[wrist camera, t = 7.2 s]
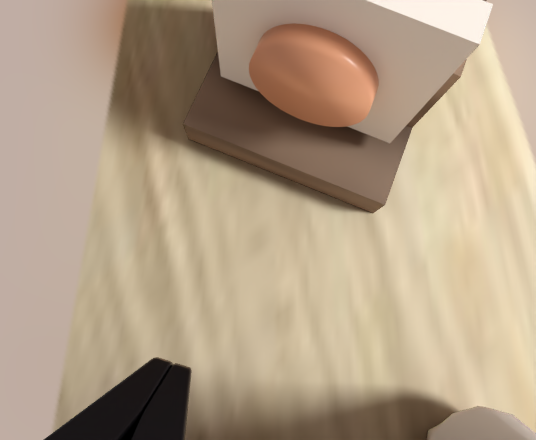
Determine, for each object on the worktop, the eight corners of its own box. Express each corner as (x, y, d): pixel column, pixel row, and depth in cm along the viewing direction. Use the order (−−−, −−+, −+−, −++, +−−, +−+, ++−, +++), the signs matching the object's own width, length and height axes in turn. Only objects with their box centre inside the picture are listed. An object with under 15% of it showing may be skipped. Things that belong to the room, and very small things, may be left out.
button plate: (383, 161, 20) (470, 72, 12) (212, 93, 20) (190, -37, 12) (399, 117, 21) (493, 3, 13) (232, 51, 21) (223, -100, 13)
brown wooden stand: (373, 213, 23) (427, 175, 16) (188, 138, 23) (163, 70, 16) (419, 82, 24) (487, -3, 17) (247, 15, 25) (247, -96, 18)
